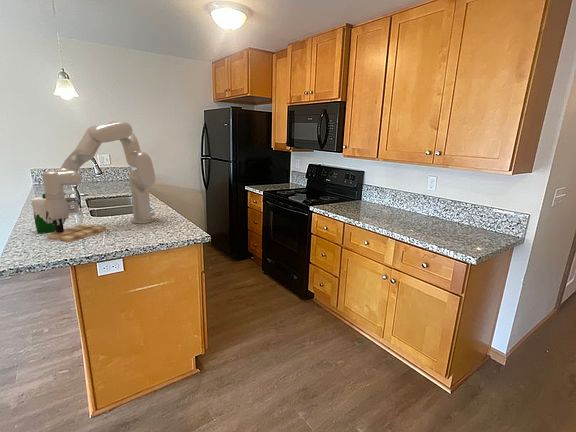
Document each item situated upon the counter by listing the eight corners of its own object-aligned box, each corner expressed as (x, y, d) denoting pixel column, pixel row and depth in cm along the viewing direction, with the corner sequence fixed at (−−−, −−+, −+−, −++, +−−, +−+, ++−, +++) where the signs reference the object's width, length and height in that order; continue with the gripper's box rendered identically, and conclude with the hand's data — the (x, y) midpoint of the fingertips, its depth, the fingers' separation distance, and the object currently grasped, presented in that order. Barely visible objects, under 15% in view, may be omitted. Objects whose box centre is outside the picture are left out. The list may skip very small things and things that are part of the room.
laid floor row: (97, 229, 176) (96, 225, 175) (106, 230, 174) (105, 226, 174) (60, 240, 155) (59, 236, 155) (69, 242, 154) (69, 238, 153)
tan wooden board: (82, 227, 177) (81, 223, 176) (95, 229, 175) (94, 225, 174) (47, 237, 158) (46, 233, 158) (61, 240, 156) (60, 236, 156)
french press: (74, 215, 203) (69, 176, 197) (56, 214, 203) (50, 175, 197) (84, 211, 213) (79, 174, 207) (67, 211, 213) (62, 173, 207)
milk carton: (55, 232, 167) (49, 195, 162) (34, 234, 164) (28, 195, 159) (60, 228, 175) (55, 192, 170) (40, 229, 172) (34, 192, 167)
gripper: (63, 193, 165) (67, 227, 169) (33, 198, 151) (39, 235, 155) (74, 194, 163) (78, 229, 167) (46, 199, 149) (51, 237, 153)
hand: (60, 231), depth 161 cm, fingers closed
